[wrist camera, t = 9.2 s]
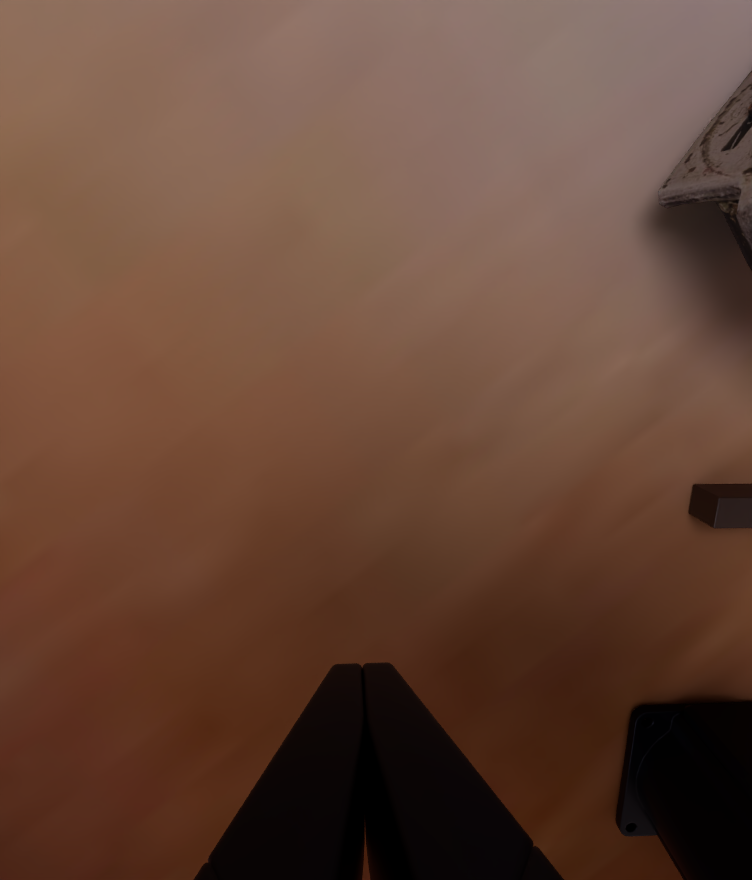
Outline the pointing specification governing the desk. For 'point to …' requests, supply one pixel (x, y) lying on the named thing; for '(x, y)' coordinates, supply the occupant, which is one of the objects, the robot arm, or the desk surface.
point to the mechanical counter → (720, 168)
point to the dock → (722, 505)
